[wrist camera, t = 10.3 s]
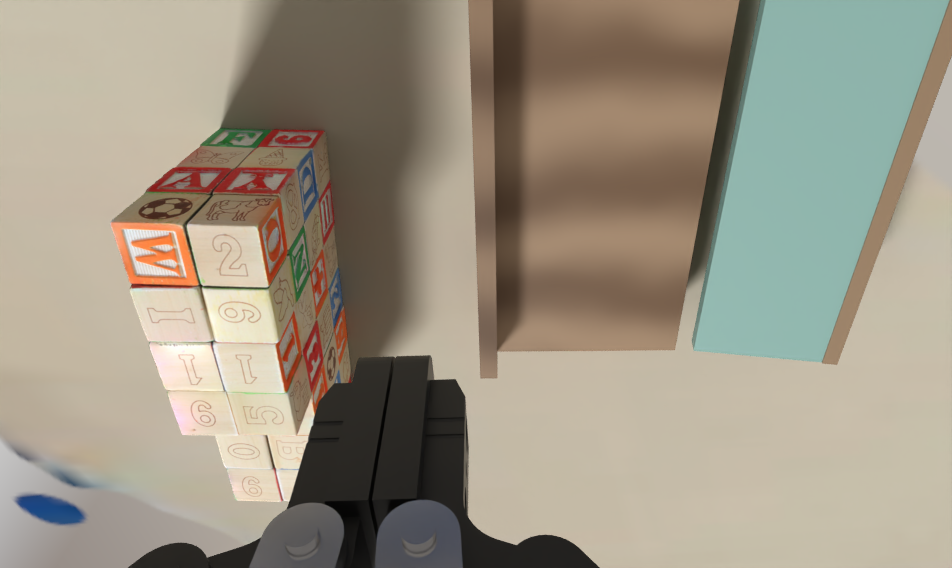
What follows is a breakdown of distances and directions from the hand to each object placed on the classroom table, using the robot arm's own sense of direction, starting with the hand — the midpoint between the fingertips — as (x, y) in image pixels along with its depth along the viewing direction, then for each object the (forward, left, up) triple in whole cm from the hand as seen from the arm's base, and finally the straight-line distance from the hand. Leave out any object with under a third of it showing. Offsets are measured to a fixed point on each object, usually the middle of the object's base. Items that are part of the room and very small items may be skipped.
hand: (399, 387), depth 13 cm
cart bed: (+5, +7, -25) cm, 26 cm away
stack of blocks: (+13, -11, -25) cm, 30 cm away
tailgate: (+5, +14, -21) cm, 25 cm away
